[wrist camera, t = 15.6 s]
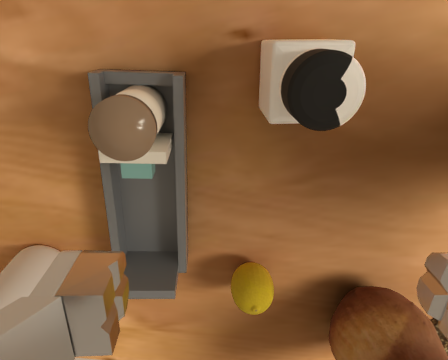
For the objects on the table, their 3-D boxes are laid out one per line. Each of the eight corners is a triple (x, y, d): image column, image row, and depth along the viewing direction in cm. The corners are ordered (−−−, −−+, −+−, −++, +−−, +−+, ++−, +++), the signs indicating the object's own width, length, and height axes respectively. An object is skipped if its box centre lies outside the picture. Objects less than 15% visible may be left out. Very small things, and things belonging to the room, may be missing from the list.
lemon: (275, 261, 45) (288, 305, 38) (253, 287, 47) (260, 333, 40) (243, 244, 44) (250, 286, 36) (221, 271, 45) (223, 316, 38)
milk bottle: (3, 261, 43) (-147, 427, 25) (43, 233, 42) (-87, 387, 23) (47, 296, 46) (-59, 467, 28) (86, 270, 44) (0, 434, 26)
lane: (185, 71, 34) (178, 81, 27) (188, 254, 44) (183, 298, 37) (99, 69, 34) (68, 78, 26) (121, 254, 43) (104, 298, 36)
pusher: (172, 133, 35) (165, 152, 30) (173, 160, 37) (167, 183, 31) (116, 131, 35) (98, 150, 29) (119, 159, 36) (102, 182, 31)
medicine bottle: (258, 108, 36) (279, 141, 25) (260, 39, 33) (285, 42, 22) (320, 107, 36) (368, 139, 25) (328, 39, 33) (387, 41, 22)
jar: (166, 82, 33) (152, 96, 25) (170, 132, 36) (157, 160, 27) (114, 82, 33) (82, 96, 25) (120, 133, 35) (93, 161, 27)
